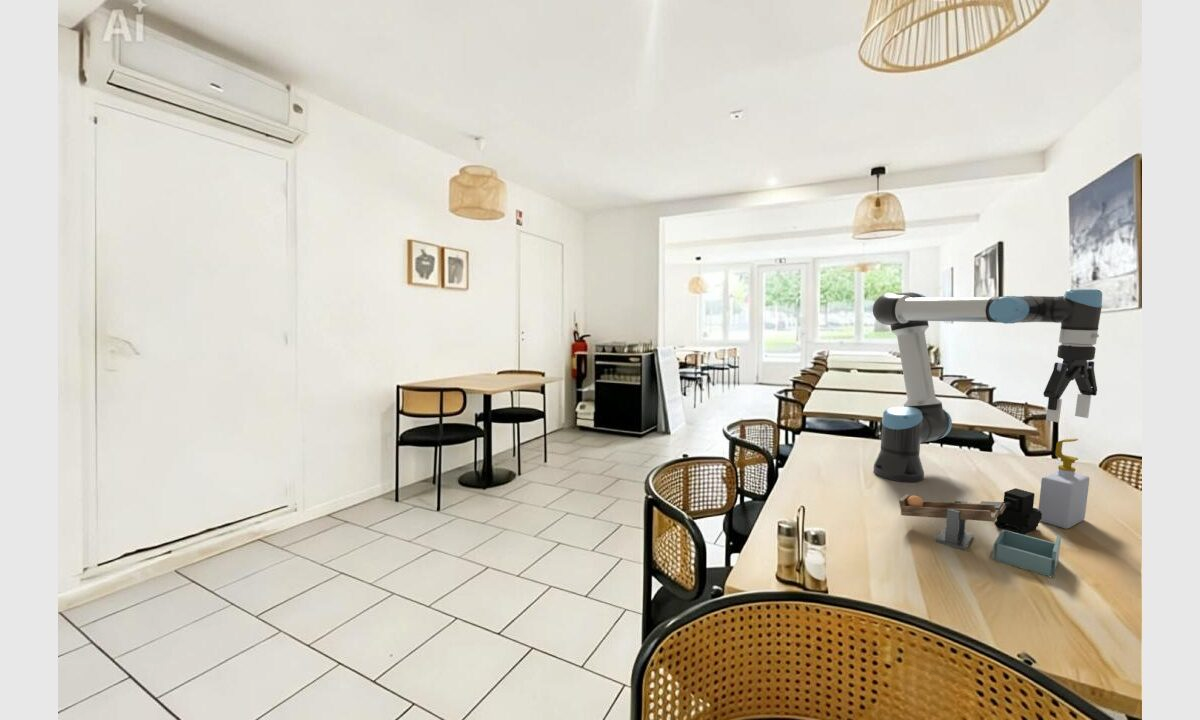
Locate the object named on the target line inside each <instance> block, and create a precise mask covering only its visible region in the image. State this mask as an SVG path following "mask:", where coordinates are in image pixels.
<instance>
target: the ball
mask: <svg viewBox="0 0 1200 720" xmlns="http://www.w3.org/2000/svg"><path fill="white" fill-rule="evenodd" d="M923 501H924V500H923V499H922V498H921V497H920V496H918V495H910V497H909V498H908V500H907V503H908V505H909V506H916V507H922V506H923Z"/></svg>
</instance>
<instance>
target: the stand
mask: <svg viewBox="0 0 1200 720" xmlns="http://www.w3.org/2000/svg"><path fill="white" fill-rule="evenodd" d="M954 502H955V503H968V502H967V501H964V500H959V499H955V500H954ZM966 522H967V520H962V519H960V511H958V510H954V509H950V508H948V510H947V518H946V524H945V527H944V528H943V530H942V531H941V532H940V534H939V535H938V536H937V537H935V542H936V543H938V544H942V545H946V546H948V547H952V548H956V549H958V550H962V551H963V552H964V551H966V549H967V547H968V546H969V544H970V543H971V541H972V540H973V539H974V537H975V536H974V533H970V532H968V531H966Z"/></svg>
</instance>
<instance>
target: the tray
mask: <svg viewBox="0 0 1200 720" xmlns="http://www.w3.org/2000/svg"><path fill="white" fill-rule="evenodd" d="M1061 539H1062V536H1061V535H1057V537H1056V539H1055V542H1054V541H1053V542H1052V541H1049V540H1046V539H1041V538H1037V537H1033V536H1029V535H1027V534H1025V535H1023V534H1019V533H1017V532H1016V531H1015V532H1014V531H1011V530H1007V529H1003V528H1002V529H1001V531H1000V532H999V534H998V536H997V537H996V539H995V541H994V543H993V552H992V553H993V555H992V560H993V561H997V562H1000V563H1003V564H1006V565H1010V566H1012V565H1013V567H1016V568H1019V567H1020V569H1022V568H1023V570H1027V571H1029V570H1030V571H1029V572H1032V571H1033V572H1032V573H1036V572H1037V573H1036V574H1039V573H1040V575H1042V574H1044V575H1043V576H1046V575H1048V576H1047V577H1049V576H1051V577H1050V578H1052V577H1055V574H1056V571H1057V567H1058V564H1059V556H1060V549H1061V548H1060V547H1061ZM1055 570H1056V571H1055Z"/></svg>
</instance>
